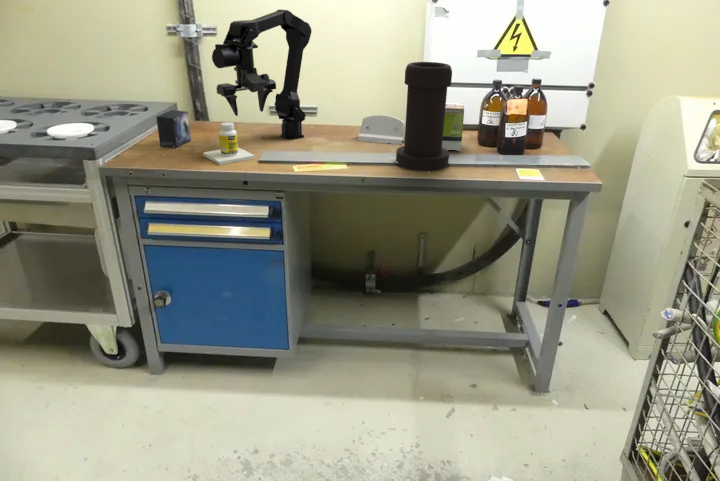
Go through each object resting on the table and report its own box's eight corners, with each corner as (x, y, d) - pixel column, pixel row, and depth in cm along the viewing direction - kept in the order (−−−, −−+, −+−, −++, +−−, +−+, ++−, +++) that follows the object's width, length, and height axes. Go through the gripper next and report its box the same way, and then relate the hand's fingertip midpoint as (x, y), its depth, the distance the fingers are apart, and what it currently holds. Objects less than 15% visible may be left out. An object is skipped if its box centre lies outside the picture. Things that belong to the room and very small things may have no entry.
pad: (237, 149, 178) (237, 146, 178) (254, 158, 170) (254, 155, 169) (203, 155, 171) (203, 152, 171) (219, 164, 163) (219, 161, 163)
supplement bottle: (229, 157, 167) (227, 126, 162) (217, 154, 169) (214, 124, 165) (242, 153, 171) (239, 123, 167) (229, 150, 173) (227, 120, 169)
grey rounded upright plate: (356, 140, 191) (360, 112, 190) (360, 142, 196) (363, 114, 195) (402, 145, 188) (406, 116, 186) (404, 146, 192) (408, 118, 191)
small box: (177, 149, 178) (173, 117, 173) (159, 147, 179) (154, 116, 174) (192, 140, 187) (188, 110, 182) (175, 139, 188) (171, 109, 184)
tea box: (460, 144, 190) (464, 102, 184) (460, 152, 181) (465, 108, 175) (417, 142, 192) (420, 100, 185) (416, 149, 183) (419, 106, 177)
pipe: (448, 157, 175) (457, 62, 162) (447, 173, 161) (457, 69, 148) (398, 153, 178) (403, 59, 165) (393, 169, 163) (398, 67, 150)
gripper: (229, 70, 158) (234, 123, 165) (283, 64, 168) (286, 114, 175) (213, 66, 165) (218, 116, 172) (265, 60, 176) (269, 107, 183)
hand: (249, 113), depth 176 cm, fingers open, 9 cm apart
